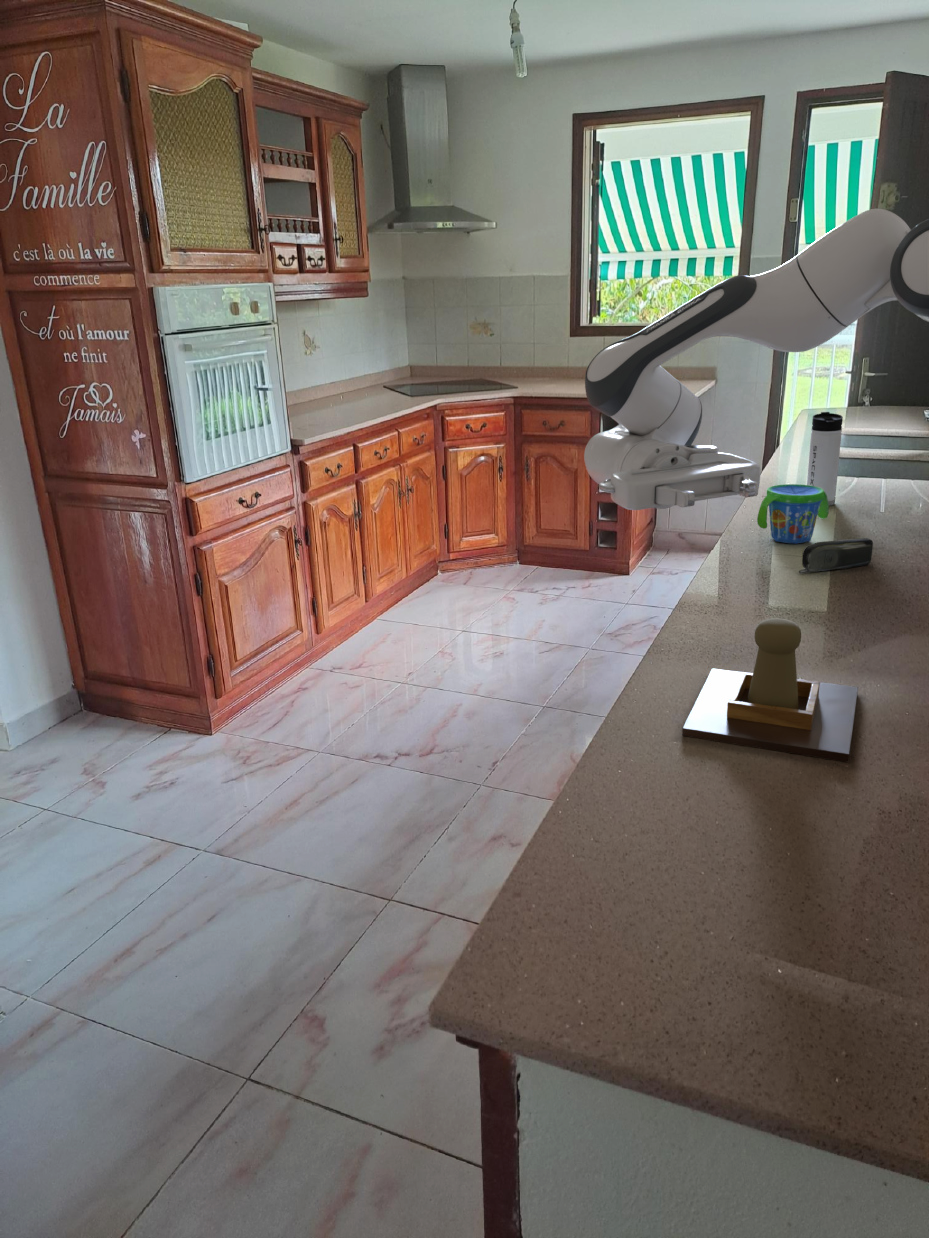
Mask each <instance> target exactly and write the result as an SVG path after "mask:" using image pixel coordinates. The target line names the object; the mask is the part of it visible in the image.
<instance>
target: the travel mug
mask: <svg viewBox="0 0 929 1238" xmlns="http://www.w3.org/2000/svg"><path fill="white" fill-rule="evenodd" d="M843 419H844V417H843V416H842V415H841V414H838V413H831V412H830V411H820V413H815V414H814V415H813V416H812V422H811V430H810V431H811V432H810V439H809V440H810V441H809V455H808V463H807V464H808V466H807V476H806V477H807V479H806V485H810V486H815V487H819V488H821V489H823V490H824V492H825V493H826V495H827V499H828V507H830V506H833V505H835V503H836V495H837V484H838V476H839V475H838V474H839V464H840V463H839V462H840V455H841V453H840V452H841V442H842V434H843V433H842V431H843V426H842V425H843ZM820 504H821V503H820ZM819 507H820V505H819Z"/></svg>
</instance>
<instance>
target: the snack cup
mask: <svg viewBox="0 0 929 1238" xmlns="http://www.w3.org/2000/svg"><path fill="white" fill-rule="evenodd" d="M820 503H821V504H820ZM819 505H820V506H819ZM829 508H830V506H828V499H827V495H826V493H825V492H824V490H823V489H821V488H819V487H815V486H810V485H807V484H796V483H795V484H794V483H792V484H791V483H787V484H776V485H772V486H769V487H768V488H766V495H765V497H764V498H763V499H762V501H761V504H760V506H759V510H758V513H757V519H756V520H757V521H756V522H757V525H758V526H759V528H761V529H764V530H766V529H767V528H768V521H767V520H768V512H769V527H770V535H771V538H772V539H773V540H774V541H775V542H778V543H783V544H794V545H797V544H804V543H806V542H811V540H812V537H813V535H814V531H815V527H816V524H817V519H818V518H819V519H821V520H825V519H827V518H828V516H829V510H830V509H829Z"/></svg>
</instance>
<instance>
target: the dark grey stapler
mask: <svg viewBox="0 0 929 1238" xmlns="http://www.w3.org/2000/svg"><path fill="white" fill-rule="evenodd" d="M873 547H874V542H873V540H872V539H871V538H867V537H863V538H850V539H849V538H848V539H839V540H825V541H816V542H814V543H812V544H809V545H807V546H805V548H804V549H803V551H802V557H801V558H802V562H801V564H802V567H803V568H804V569H799V571H798V573H799V574H800V575H802V574H809V573H815V572H824V571H832V570H840V569H841V570H843V569H851V568H857V567H865V566H867V565H870V564H871V562H872V557H873V556H872V555H873V549H874V548H873Z"/></svg>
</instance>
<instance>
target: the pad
mask: <svg viewBox="0 0 929 1238" xmlns="http://www.w3.org/2000/svg"><path fill="white" fill-rule="evenodd" d="M752 676H753V672H747V671H736V670H728V669H720V668H711V669H710V672H709V674H708V675H707V678H706V680H705V682H704V684H703V686H702V688H701V690H700V692H699V694H698V696H697V698H696V700H695V702H694V704H693V706H692V708H691V710H690V712H689V714H688V716H687V718H686V720H685V722H684V724H683V726H682V730H681V736H683V737H688V738H689V737H690V738H696V739H701V740H707V741H713V742H721V743H725V744H732V745H739V746H746V747H751V748H756V749H757V748H758V749H763V750H764V749H765V750H769V751H777V752H781V753H782V752H783V753H789V754H795V755H801V756H808V757H813V758H820V759H826V760H833V761H838V762H844V763H849V761H850V753H851V746H852V740H853V739H852V738H853V731H854V723H855V716H856V709H857V701H858V693H859V686H854V685H845V684H838V683H830V682H822V681H817V680H811V679H801V678H797V688H798V704H799V710H797V709H790V708H782V707H775V706H768V705H761V704H754V703H747V699H748V695H749V690H750V685H751V681H752Z"/></svg>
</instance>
